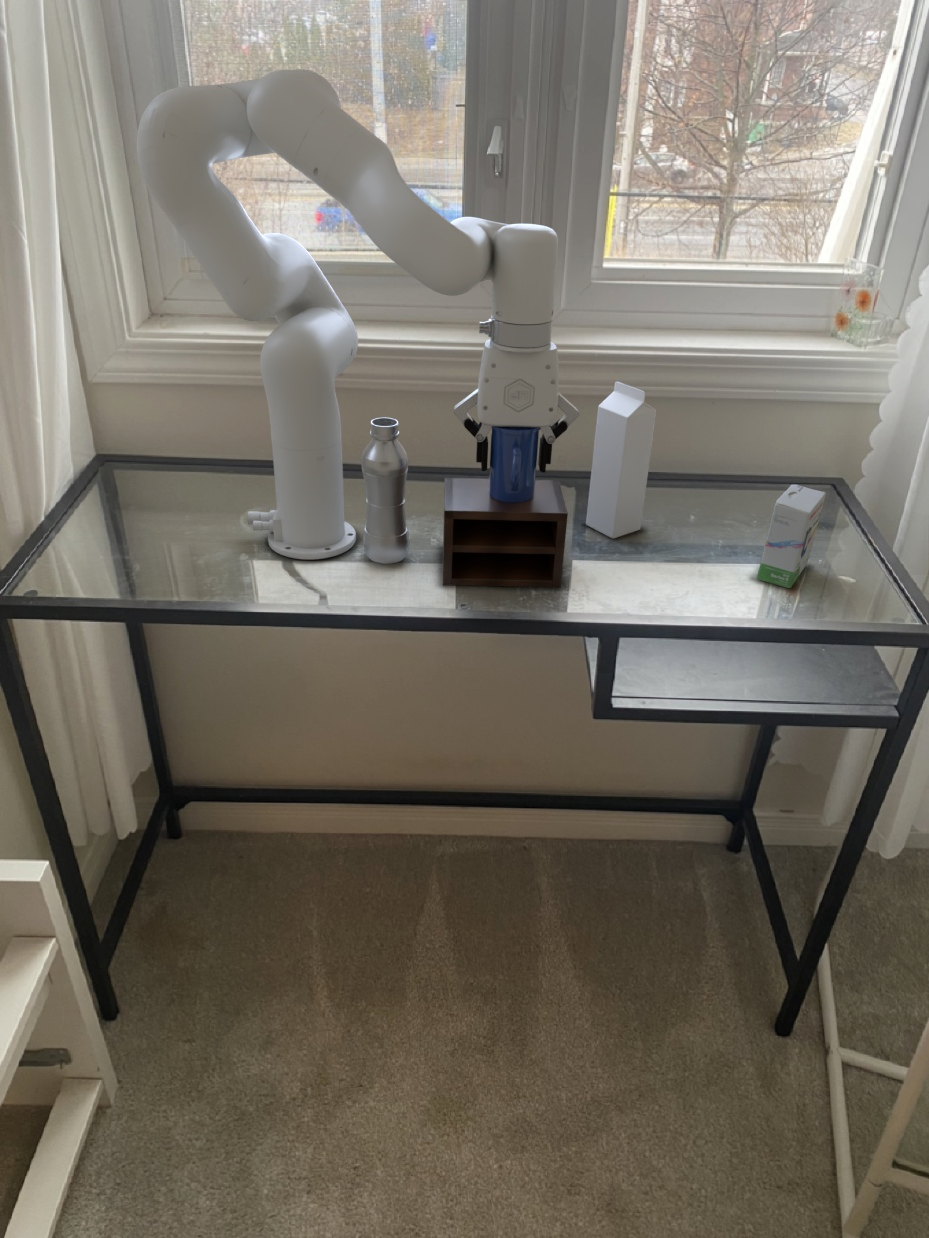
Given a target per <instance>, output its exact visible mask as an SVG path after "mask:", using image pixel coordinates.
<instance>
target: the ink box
mask: <svg viewBox="0 0 929 1238" xmlns="http://www.w3.org/2000/svg"><path fill="white" fill-rule="evenodd" d="M826 496H827V492H826V491H825V492H824V491H820V490H817V489H813V488H810V487H805V486H802V485H799V484H794V483H793V484H791V485H790V486H789V487H788V488H787V489H786V490H785V491H784V492H783V494H781V495H780V496H779V497H778V499H776V502H775V504H774V507H773V511H772V514H771V520H770V524H769V528H768V531H767V536H766V540H765V544H764V547H763V552H762V556H761V560H760V564H759V568H758V571H757V572H758V573H757V576H756V580H758V581H763V582H766V583H769V584H773V585H776V586H780V587H784V588H787V589H791V588H792V587H793V586H794V584H795V583H796V581H797V580H798V578H799V576H800V575H801V573H802V572H803V570H804V569H805V568H806V566H807V565H808V562H809V558H810V555H811V552H812V548H813V544H814V540H815V537H816V533H817V529H818V525H819V522H820V518H821V514H822V512H823V511H822V510H823V507H824V504H825V500H826Z"/></svg>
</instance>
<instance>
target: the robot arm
mask: <svg viewBox="0 0 929 1238" xmlns="http://www.w3.org/2000/svg"><path fill="white" fill-rule="evenodd" d="M136 134H137V135H136V156H137V163H138V167H139V171H140V173H141V176H142V179H143V181H144V184H145V185H146V187H147V189H148V191H149V193H150V194H151V196H152V198H153V199H154V200H155V203H156V204H157V205H158V206H159V208H160V209H161V211H162V212H163V213H164V215H165V216H166V217H167V218H168V220H169V221H170V223H171V224H172V225H173V227H174V228H175V230H176V231H177V232H178V233H179V235H180V237H181V238H182V240H183V241H184V242H185V245H186V246H187V247H188V249H189V251H190V252H191V254H192V256H193V258H195V260H196V261H197V263H198V264H199V265H200V267H201V268H202V270H203V271H204V273H205V275H206V276H207V278H208V279H209V280H210V282H211V284H212V285H213V286H214V287H215V289H216V291H217V292H218V293H219V295H220V296H221V298H222V299H223V301H224V303H225V304H226V305H227V307H228V308H229V309H230V310H231V312H232V313H233V314H235V315H236V316H237V317H239V318H240V319H242V320H244V321H247V322H260V321H261V322H262V321H265V320H267V319H270V318H272V317H274V318H275V320H276V321H277V322H278V326H277V327H276V328H274V329H273V330H272V331H271V332H270V334H269V335H268V336H267V337H266V339H265V341H264V343H263V345H262V347H261V351H260V357H259V368H260V370H259V371H260V376H261V380H262V385H263V388H264V392H265V396H266V401H267V408H268V416H269V425H270V426H269V427H270V439H271V446H272V447H271V448H272V449H271V450H272V461H273V462H272V463H273V474H274V476H273V477H274V488H275V503H276V509H270V510H269V511H267V512H266V511H258V510H257V511H251V510H249V511H247V516H246V519H247V525H249V526H250V525H252V530H253V531H262V532H263V531H269V532H268V534H267V543H268V545H269V547H270V549H272V551H274V552H275V553H277V554H279V555H281V556H284V557H286V558H291V559H295V560H311V561H312V560H322V559H329V558H332V557H336V556H339V555H342V554H344V553H345V552H347V551H349V550H350V549H351V548H353V547H354V545H355V544H356V541H357V534H356V533H357V532H356V529H355V527H353V526H352V524H350V523H349V522H347V521H345V498H344V497H345V496H344V495H345V494H344V470H343V469H344V467H343V439H342V420H341V412H340V405H339V402H338V397H337V394H336V386H335V385H336V384H335V383H336V379H337V378H338V376H339V375H341V374H342V373H343V372H344V371H345V370H346V369H347V368H348V367H349V366H350V365H351V364H352V362H353V361H354V359H355V357H356V355H357V352H358V348H359V337H358V332H357V328H356V327H355V323H354V321H353V319H352V317H351V315H350V314H349V312H348V310H347V309H346V308H345V305H344V304H343V303H342V301H341V299H340V298H339V296H338V295H337V293H336V292H335V290H334V289H333V287H332V285H331V284H330V282H329V281H328V279H327V277H326V276H325V275H324V273H323V271H322V270H321V269H320V267H319V265H318V264H317V262H316V260H315V259H314V258H313V256H312V255H311V253H310V252H309V251H308V250H307V249H306V248H305V246H303V245H302V244H301V243H300V242H298V241H297V240H296V239H295V238H293V237H291V236H289V235H288V234H287V235H286V234H283V233H279V232H267V233H263V234H262V233H261V232H260V230H259V229H258V227H257V226H256V225H255V223H254V222H253V221H252V219H251V217H250V216H249V214H248V212H247V211H246V209H245V208H244V206H243V204H242V202H241V201H240V200H239V199H238V197H237V196H236V195H235V193H233V192H232V191H231V189H230V188H229V187H228V186H227V185H225V183H224V182H222V180H220V179H219V177H218V176H217V175H216V173H215V172H214V170H213V165H214V164H219V163H223V162H229V161H233V160H237V159H243V158H249V157H254V156H255V157H257V156H263V155H269V154H276V155H277V156H278V157H280V158H281V159H282V160H283V161H285V162H286V163H287V164H289V165H290V166H291V167H293V168H294V169H295V170H297V171H298V172H299V173H300V174H302V175H303V176H304V177H306V178H307V179H308V180H310V181H311V182H312V183H313V184H314V185H316V186H317V187H318V188H320V189H321V190H322V191H324V192H325V193H326V194H327V195H329V196H330V197H331V198H332V199H334V200H335V201H336V202H338V203H339V204H340V205H341V206H343V208H344V209H346V210H347V212H348V213H349V214H350V216H351V217H352V219H353V220H354V221H355V223H356V224H357V225H358V226H359V227H360V228H361V229H362V231H363V232H364V233H365V234H366V236H367V237H368V238H369V240H371V242H372V243H373V244H374V245H375V246H376V247H377V248H378V249H379V250H380V251H381V252H382V253H383V254H384V255H385V256H386V257H388V258H389V259H390V260H391V261H392V262H393V263H395V264H396V265H397V266H398V267H400V268H401V269H403V270H404V271H405V272H407V273H408V274H409V275H410V276H412V277H413V278H414V279H416V280H417V281H418V282H419V283H421V284H422V285H424V286H425V287H427V288H428V289H430V290H431V291H433V292H436V293H438V294H440V295H445V296H449V297H454V296H461V295H465V294H466V293H468V292H470V291H471V290H473V289H474V288H475V287H476V286H477V285H478V284H480V283H482V282H484V281H491V282H492V297H491V315H490V318H488V320H486V321H479V324H478V325H479V326H478V333H479V334H485V335H487V336H488V338H489V339H486V341H485V342H484V343H485V344H484V346H483V349H482V354H481V360H480V366H479V373H478V382H477V383H478V384H477V388H476V389H475V390H474V391H472V392H471V393H470V394H468V395H467V396H466V397H464V398H463V399H462V400H461V401H459V402H457V404H455V405H454V406H453V414H454V415H455V416H456V418H457V419H458V420H459V421H460V423H461V424H462V425H463V427H464V428H465V430H467V431H468V432H469V433H470V435H472V436H473V438H474V439H475V441H476V454H475V455H476V456H475V463H479V464H480V468H481V472H486V471H487V470H488V463H489V461H488V460H489V437H488V434H489V433H490V432H491V428H492V426H501V427H540V428H541V429H540V431H541V432H542V435H541V437H539V445H538V459H537V464H538V469H539V472H541V473H546V469H547V465H551V464H552V452H553V444H554V443H555V442H556V440H557V439H558V438H559V437H561V436H562V434H564V433H565V432H566V431H567V430H568V428H569V427H570V426H572V424H573V423H574V422H575V421H576V420H577V419H578V418H579V417H580V412H579V409H578V408H577V407H576V406H575V405H573V404H572V403H571V402H570V401H569V400H568V399H567V398H566V397H564V396H563V394H561V392H559V385H560V383H559V381H560V379H559V377H560V376H559V375H560V369H559V366H560V365H559V354H558V353H559V352H558V346H557V345H556V343H554V342H552V335H553V334H552V332H553V318H554V305H555V304H554V303H555V295H556V293H555V292H556V280H557V268H558V256H559V255H558V253H559V237H558V234H557V232H556V231H555V230H554V229H553V228H551V227H549V226H546V225H542V224H535V223H512V224H508V223H502V222H497V221H493V220H489V219H484V218H480V217H475V216H462V217H458V218H456V219H453V220H452V221H450V220H448V219H447V218H445V217H444V216H443V215H441V214H440V213H439V212H437V211H436V209H434V208H432V207H431V206H430V205H429V204H428V203H427V202H426V201H424V200H423V199H422V198H421V197H420V196H419V195H418V194H416V192H415V191H413V190H412V188H411V187H410V186H409V184H408V183H407V181H405V179H404V178H403V176H402V175H401V173H400V171H399V168H398V165H397V163H396V160H395V156H394V154H393V151H392V150H391V149H390V148H389V146H388V145H387V144H386V142H384V141H383V140H382V139H381V138H379V137H377V135H375V134H374V133H372V131H370V130H369V129H368V128H367V127H365V126H364V125H362V124H361V123H360V122H359V121H357V120H356V119H355V118H354V117H353V116H351V114H349V113H347V111H345V110H344V109H342V107H341V102H340V98H339V95H338V94H337V91H336V89H335V88H334V86H333V85H332V84H331V83H330V81H328V79H326V78H325V77H324V76H322V75H321V74H320V73H317V72H315V71H312V70H309V69H278V70H277V69H276V70H274V71H270V72H269V73H266V74H265V75H263V76H261V77H260V78H254V79H249V80H242V81H241V80H240V81H235V82H228V83H227V82H226V83H220V84H207V85H206V84H203V85H185V86H178V87H174V88H170V89H168V90H164V91H163V92H161V93H160V94H158V95H157V96H155V97H154V98H153V99H152V100H151V101H150V102H149V104H148V105H147V107H146V108H145V109H144V111H143V112H142V116H141V117H140V121H139V124H138V128H137V133H136ZM475 406H476V410H477V411H476V413H477V419H478V420H479V421H478V422H477V421H476V420H475V419H474V418H473V417H472V416H471V415H470V414H469V412H468V411H469V410H471V409H472V408H474V407H475ZM558 408H559V409H560V410H561V411H562V412H563V413H564V414H563V415H562V417H561V418H559V419H558V420H557V418H558Z"/></svg>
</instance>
